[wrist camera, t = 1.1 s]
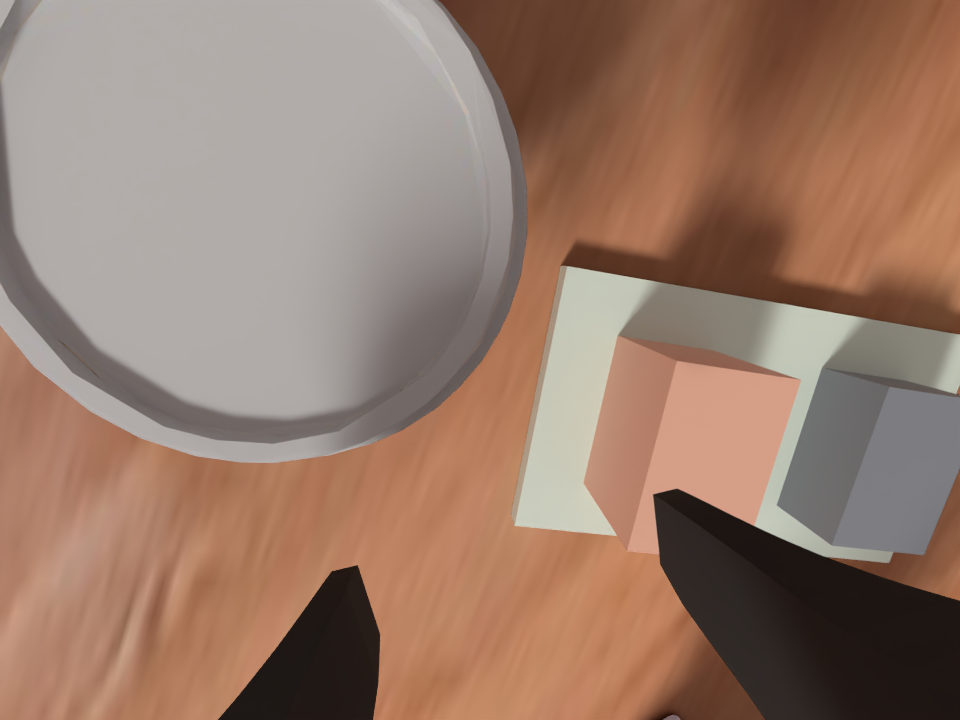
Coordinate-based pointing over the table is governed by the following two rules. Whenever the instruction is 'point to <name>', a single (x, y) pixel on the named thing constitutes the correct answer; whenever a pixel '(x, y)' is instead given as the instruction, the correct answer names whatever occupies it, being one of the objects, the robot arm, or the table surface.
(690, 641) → the table surface
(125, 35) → the disposable coffee cup
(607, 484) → the terracotta brick
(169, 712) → the table surface
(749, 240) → the table surface
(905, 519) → the charcoal brick
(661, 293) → the baseplate
